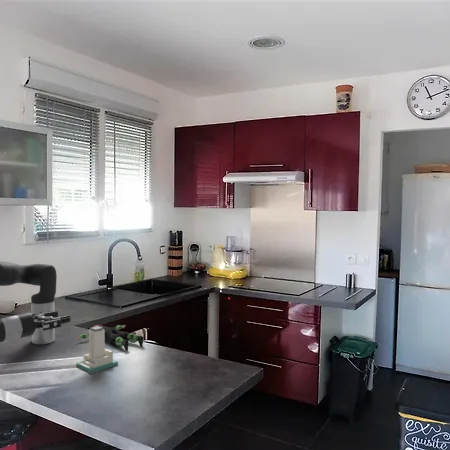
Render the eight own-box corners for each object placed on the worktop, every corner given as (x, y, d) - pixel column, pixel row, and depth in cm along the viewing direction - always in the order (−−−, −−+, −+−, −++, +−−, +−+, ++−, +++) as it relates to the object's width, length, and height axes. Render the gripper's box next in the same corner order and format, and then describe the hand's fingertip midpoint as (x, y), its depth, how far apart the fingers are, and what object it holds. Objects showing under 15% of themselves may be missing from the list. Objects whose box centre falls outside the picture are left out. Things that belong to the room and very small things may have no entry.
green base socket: (76, 366, 163) (76, 352, 162) (102, 358, 171) (102, 345, 171) (91, 373, 156) (91, 358, 156) (117, 364, 164) (117, 350, 164)
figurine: (158, 342, 192) (118, 331, 212) (158, 327, 192) (117, 318, 212) (107, 357, 173) (68, 343, 193) (106, 341, 173) (67, 329, 193)
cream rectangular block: (87, 362, 163) (87, 328, 162) (98, 359, 166) (98, 325, 166) (93, 365, 160) (93, 330, 160) (104, 362, 164) (104, 327, 163)
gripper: (7, 333, 147) (54, 322, 159) (26, 343, 137) (74, 330, 149) (6, 311, 146) (53, 302, 158) (25, 319, 137) (73, 308, 149)
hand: (63, 316), depth 154 cm, fingers open, 8 cm apart
